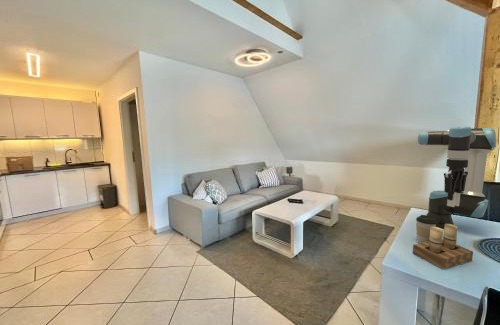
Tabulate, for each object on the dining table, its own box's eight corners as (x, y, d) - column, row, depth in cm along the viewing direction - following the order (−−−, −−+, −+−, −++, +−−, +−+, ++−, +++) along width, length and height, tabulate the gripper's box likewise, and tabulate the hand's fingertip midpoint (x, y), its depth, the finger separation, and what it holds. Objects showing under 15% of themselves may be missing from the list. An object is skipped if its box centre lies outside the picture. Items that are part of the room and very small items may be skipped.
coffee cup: (438, 246, 118) (440, 220, 116) (420, 245, 119) (422, 219, 117) (428, 238, 126) (430, 214, 124) (411, 237, 128) (413, 213, 126)
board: (439, 246, 117) (440, 238, 116) (472, 261, 104) (473, 251, 103) (412, 253, 112) (413, 244, 111) (442, 269, 98) (443, 259, 98)
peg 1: (432, 248, 109) (434, 226, 107) (443, 253, 104) (446, 230, 103) (425, 249, 107) (427, 227, 106) (436, 255, 103) (438, 231, 101)
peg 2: (446, 244, 111) (448, 223, 110) (458, 249, 107) (460, 227, 105) (440, 246, 110) (442, 224, 109) (451, 251, 105) (453, 228, 104)
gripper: (459, 157, 108) (454, 201, 111) (437, 159, 104) (433, 205, 107) (478, 158, 101) (473, 206, 104) (455, 160, 97) (450, 210, 100)
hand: (452, 205), depth 106 cm, fingers open, 3 cm apart
